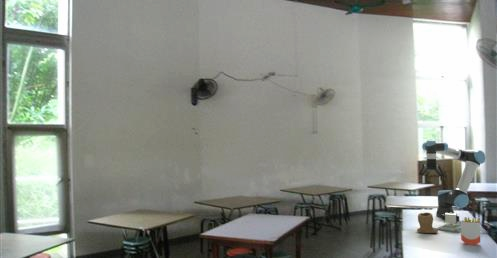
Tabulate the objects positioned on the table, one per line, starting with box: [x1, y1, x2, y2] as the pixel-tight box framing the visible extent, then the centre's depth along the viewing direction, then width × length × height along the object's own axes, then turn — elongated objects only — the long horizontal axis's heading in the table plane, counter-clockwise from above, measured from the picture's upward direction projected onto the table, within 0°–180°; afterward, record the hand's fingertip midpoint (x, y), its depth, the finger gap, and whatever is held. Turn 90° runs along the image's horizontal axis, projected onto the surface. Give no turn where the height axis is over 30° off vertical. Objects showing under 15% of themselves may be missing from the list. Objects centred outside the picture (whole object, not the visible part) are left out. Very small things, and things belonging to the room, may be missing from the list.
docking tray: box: [437, 222, 461, 234], centre depth 320 cm, size 17×16×2 cm
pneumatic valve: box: [441, 212, 460, 228], centre depth 320 cm, size 6×12×12 cm, turn 60°
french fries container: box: [460, 216, 481, 246], centre depth 277 cm, size 5×11×18 cm, turn 70°
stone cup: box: [416, 211, 439, 234], centre depth 309 cm, size 15×12×15 cm
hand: (431, 183), depth 348 cm, fingers open, 13 cm apart
